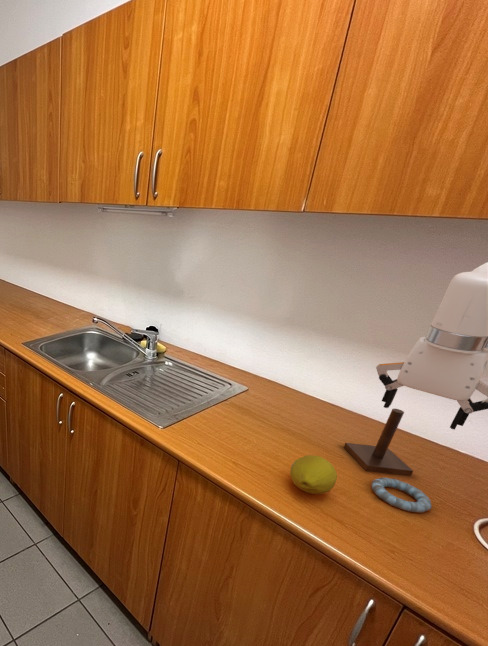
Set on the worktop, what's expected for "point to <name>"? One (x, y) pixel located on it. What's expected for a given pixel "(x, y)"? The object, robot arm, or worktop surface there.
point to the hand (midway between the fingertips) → (418, 415)
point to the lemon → (313, 474)
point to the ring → (419, 506)
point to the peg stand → (381, 450)
